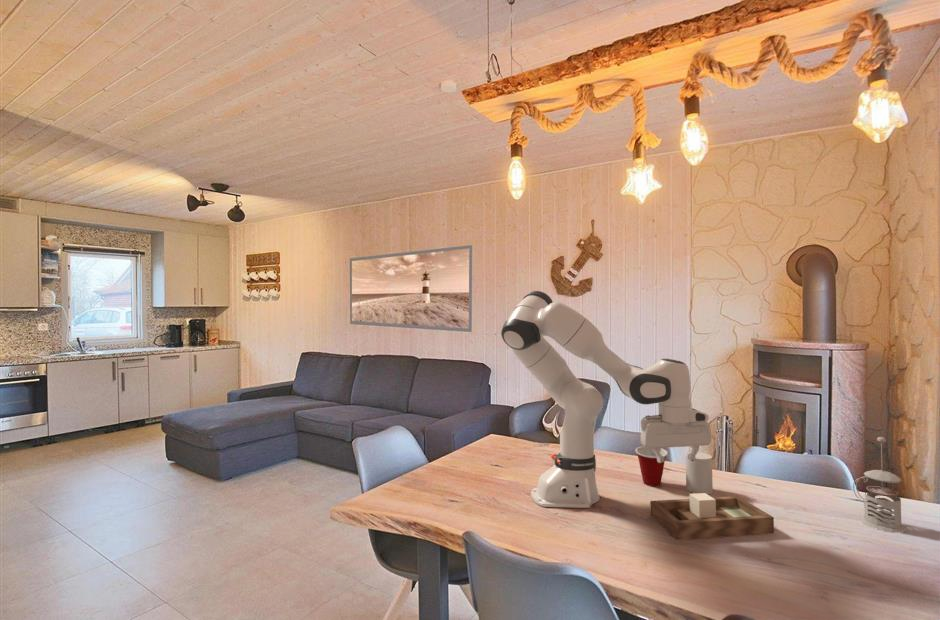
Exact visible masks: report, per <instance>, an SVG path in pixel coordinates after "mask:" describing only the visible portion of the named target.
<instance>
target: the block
mask: <svg viewBox="0 0 940 620" xmlns="http://www.w3.org/2000/svg"><path fill="white" fill-rule="evenodd" d="M689 499H690V511H691V512H692V513H694V514H695V515H696V516H698V517H699V518H708V517H716V500H715V499H714V498H712V496H710V495H707V494H706V493H698V494H694V493H689Z"/></svg>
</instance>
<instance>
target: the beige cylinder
mask: <svg viewBox="0 0 940 620" xmlns="http://www.w3.org/2000/svg"><path fill="white" fill-rule="evenodd" d="M690 452H691V451H689V452H685V487H686V488H685V489H686V491H687V490H688V492H689V493H691V492H692V493H691V494H694V493H695V494H698V493H706V494H710V495H712V494H713V493H714V492H713V456H712V455H711V454H709V453H706V452H699V451H698V452H697V454H696V455H695V457H696V460H695V461H689V460H688V456H687V454H690ZM711 493H712V494H711Z"/></svg>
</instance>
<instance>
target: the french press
mask: <svg viewBox="0 0 940 620" xmlns="http://www.w3.org/2000/svg"><path fill="white" fill-rule="evenodd" d="M876 441H878V442H880V454H881V455H880V458H881V462H880V463H881V465H880V466H881V469H871V470H867V471H865V472H863V475H864V476H861V477H858V478H856V479H855V480H854V482H853V485H852V488H853V493H854V495H855V496H856V498H857V499H859V501H861V502H862V503H863V505H864V516H863V517H861V519H860V521H861V523H862V524H863V525H866V526H867V525H868V526H867V527H870V528H872V527H873V529H875V528H877V529H876V530H878V529H881V530H880V531H882V530H883V532H887V531H890V532H889V533H895V532H901V533H903V532H902V531H905V530H906V529H907V528H906V527H905V526H904V524H902V499H901V497H900V496H899V495H900V493H899V492H898V491H897V490H895V489H891V488H888V487H884V483H889V484H898V483H900V482H901V481H902V478H901V477H899V476H898V475H896V474H894V473H892V472H890V471H886V470H883V469H884V468H883V443H884V442H886V441H887V440H886V438H885V437H883V436H878V437H877V438H876ZM860 479H863V482H864V483H867V482H869V479H871V480H874V481H878V482H881V486H877V485H869V486H866V487H865V489H866V490H867V491H866V492H864V497H862V495H860V493H859V491H858V482H859V481H860ZM855 489H856V490H855ZM878 496H879V497H878ZM880 496H881V497H880ZM882 496H883V497H882ZM859 497H860V498H859ZM885 497H886V498H885ZM888 498H889V499H888ZM890 499H891V500H890ZM906 531H907V530H906ZM906 531H905V532H906Z"/></svg>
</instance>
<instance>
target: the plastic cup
mask: <svg viewBox="0 0 940 620" xmlns="http://www.w3.org/2000/svg"><path fill="white" fill-rule="evenodd" d="M635 453H636V455H637V458H638V463H639V468H640V473H641V478H642V482H643V484H644V485H646V486H648V487H659V486H660V485H661V484H662V478H663V477H662V476H663V475H664V467H665V462H666V458H667V456H668V454H669V453H668V451H667V450H666V449H664V448H661V451H659V453H660V455H662V456H664V457H665V459H664V461H665V462H664V463H659V462H657V455H656V454H655V452H654V451H653V448H646V447H644V446H643V445H642V446H639V447H636V448H635Z"/></svg>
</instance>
